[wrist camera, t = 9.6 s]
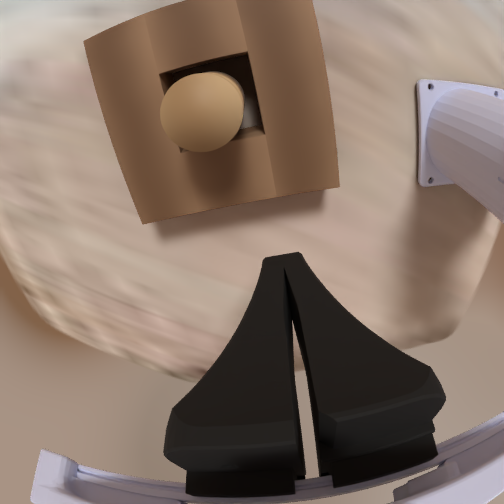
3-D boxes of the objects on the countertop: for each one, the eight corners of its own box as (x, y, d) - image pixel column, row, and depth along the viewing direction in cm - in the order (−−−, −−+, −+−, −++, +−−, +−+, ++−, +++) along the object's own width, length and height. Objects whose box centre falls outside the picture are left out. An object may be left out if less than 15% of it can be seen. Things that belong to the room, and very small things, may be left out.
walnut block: (297, -6, 12) (307, -19, 9) (327, 169, 19) (339, 187, 16) (106, 43, 13) (83, 41, 11) (155, 203, 20) (142, 224, 17)
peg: (238, 65, 15) (234, 63, 9) (250, 115, 17) (252, 143, 11) (184, 78, 15) (149, 86, 9) (197, 127, 17) (171, 161, 11)
